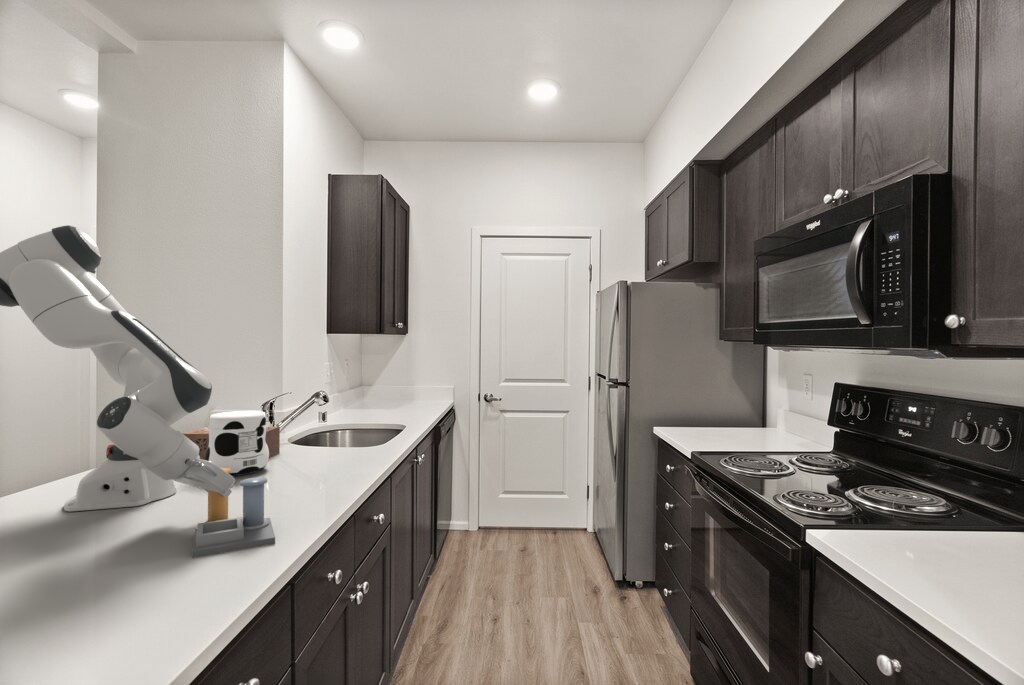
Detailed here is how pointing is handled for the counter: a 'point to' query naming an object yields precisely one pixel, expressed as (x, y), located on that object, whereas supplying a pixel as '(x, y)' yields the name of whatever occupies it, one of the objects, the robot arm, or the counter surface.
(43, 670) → the counter surface
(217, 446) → the milk container
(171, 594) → the counter surface
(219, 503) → the pin
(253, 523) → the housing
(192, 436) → the tissue box cover
